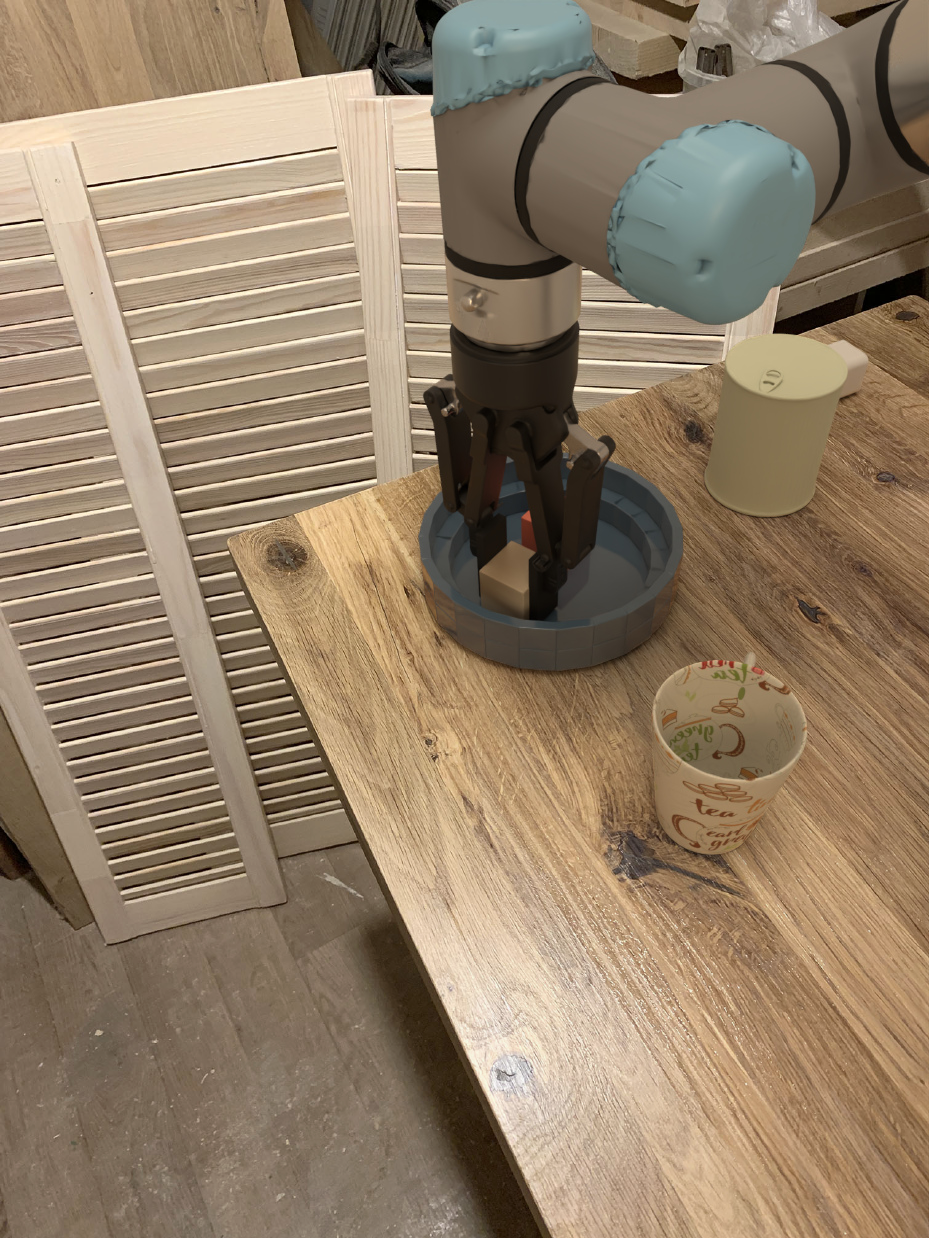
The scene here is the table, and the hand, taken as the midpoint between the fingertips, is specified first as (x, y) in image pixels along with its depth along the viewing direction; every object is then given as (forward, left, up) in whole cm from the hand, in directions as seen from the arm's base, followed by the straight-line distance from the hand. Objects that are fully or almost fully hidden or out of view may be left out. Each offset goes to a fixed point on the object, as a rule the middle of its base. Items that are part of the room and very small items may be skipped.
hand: (518, 600), depth 70 cm
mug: (-19, +5, -1) cm, 20 cm away
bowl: (0, -4, -1) cm, 4 cm away
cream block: (0, 0, 0) cm, 0 cm away
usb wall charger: (-7, -39, -1) cm, 39 cm away
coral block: (+1, -6, 0) cm, 7 cm away
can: (-8, -24, -1) cm, 25 cm away
